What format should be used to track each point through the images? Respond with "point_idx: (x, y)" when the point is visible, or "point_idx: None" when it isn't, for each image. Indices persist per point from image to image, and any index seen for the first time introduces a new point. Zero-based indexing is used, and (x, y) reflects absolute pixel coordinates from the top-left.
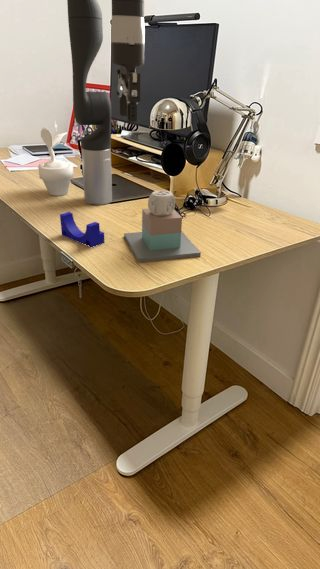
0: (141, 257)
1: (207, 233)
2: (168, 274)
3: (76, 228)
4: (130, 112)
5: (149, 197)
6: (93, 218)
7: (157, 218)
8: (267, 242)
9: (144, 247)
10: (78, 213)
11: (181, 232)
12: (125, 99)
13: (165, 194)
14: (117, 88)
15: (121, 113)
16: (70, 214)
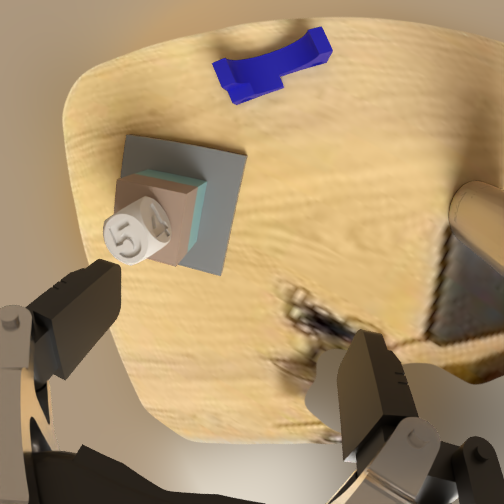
0: (128, 142)
1: (197, 312)
2: (83, 165)
3: (298, 62)
4: (51, 289)
5: (136, 205)
6: (384, 143)
7: (119, 197)
8: (138, 357)
9: (163, 164)
10: (427, 129)
11: (202, 268)
12: (361, 450)
13: (121, 244)
14: (490, 486)
15: (358, 342)
16: (315, 48)
